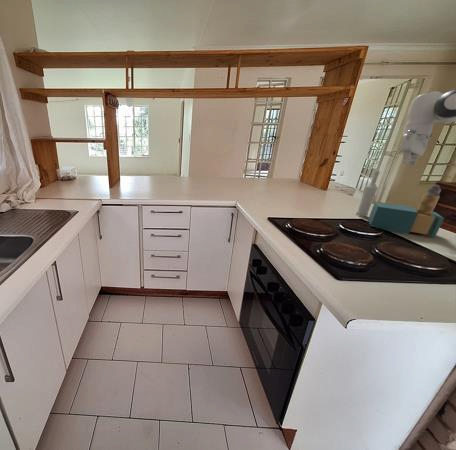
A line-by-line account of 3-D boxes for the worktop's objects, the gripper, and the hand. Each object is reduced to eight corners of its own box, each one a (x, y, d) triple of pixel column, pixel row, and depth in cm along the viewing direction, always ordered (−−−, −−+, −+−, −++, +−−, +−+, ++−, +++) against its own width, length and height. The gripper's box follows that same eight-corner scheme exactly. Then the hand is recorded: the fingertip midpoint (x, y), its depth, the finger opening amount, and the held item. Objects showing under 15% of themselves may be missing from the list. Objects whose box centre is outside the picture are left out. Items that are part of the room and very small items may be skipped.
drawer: (430, 230, 112) (439, 212, 109) (438, 237, 103) (448, 218, 100) (392, 223, 120) (398, 206, 117) (396, 230, 110) (404, 212, 107)
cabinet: (402, 226, 118) (411, 206, 114) (408, 234, 108) (418, 212, 104) (367, 220, 126) (374, 201, 122) (370, 227, 115) (378, 206, 112)
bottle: (353, 213, 137) (368, 170, 129) (363, 214, 137) (379, 171, 128) (359, 216, 132) (375, 171, 124) (369, 217, 132) (386, 172, 123)
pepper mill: (422, 228, 111) (443, 184, 104) (425, 231, 107) (446, 186, 100) (408, 225, 114) (427, 183, 106) (410, 228, 110) (430, 184, 103)
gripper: (420, 127, 97) (411, 161, 100) (433, 135, 108) (425, 166, 110) (399, 129, 103) (391, 161, 105) (413, 136, 113) (406, 166, 116)
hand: (408, 164), depth 108 cm, fingers open, 8 cm apart
